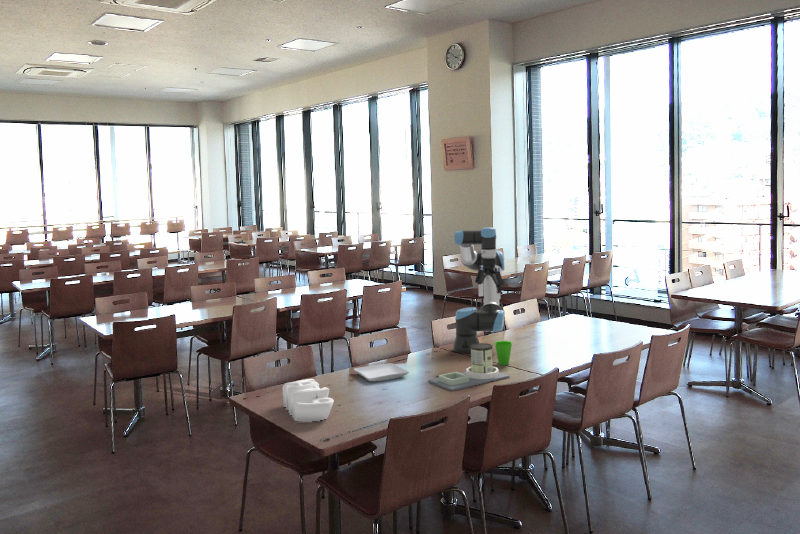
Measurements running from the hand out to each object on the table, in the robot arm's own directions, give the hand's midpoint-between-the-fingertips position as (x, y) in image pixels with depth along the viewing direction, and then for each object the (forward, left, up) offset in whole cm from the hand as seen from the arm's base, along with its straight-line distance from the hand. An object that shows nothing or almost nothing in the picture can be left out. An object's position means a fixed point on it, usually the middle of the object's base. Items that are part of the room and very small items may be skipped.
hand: (489, 297), depth 352 cm
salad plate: (-6, -64, -32) cm, 72 cm away
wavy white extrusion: (+20, -115, -32) cm, 121 cm away
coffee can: (+26, -27, -31) cm, 49 cm away
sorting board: (+26, -35, -32) cm, 54 cm away
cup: (+15, -4, -32) cm, 35 cm away
